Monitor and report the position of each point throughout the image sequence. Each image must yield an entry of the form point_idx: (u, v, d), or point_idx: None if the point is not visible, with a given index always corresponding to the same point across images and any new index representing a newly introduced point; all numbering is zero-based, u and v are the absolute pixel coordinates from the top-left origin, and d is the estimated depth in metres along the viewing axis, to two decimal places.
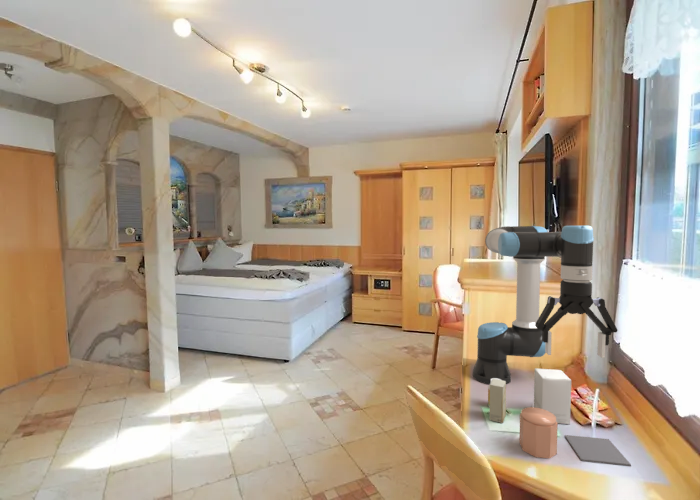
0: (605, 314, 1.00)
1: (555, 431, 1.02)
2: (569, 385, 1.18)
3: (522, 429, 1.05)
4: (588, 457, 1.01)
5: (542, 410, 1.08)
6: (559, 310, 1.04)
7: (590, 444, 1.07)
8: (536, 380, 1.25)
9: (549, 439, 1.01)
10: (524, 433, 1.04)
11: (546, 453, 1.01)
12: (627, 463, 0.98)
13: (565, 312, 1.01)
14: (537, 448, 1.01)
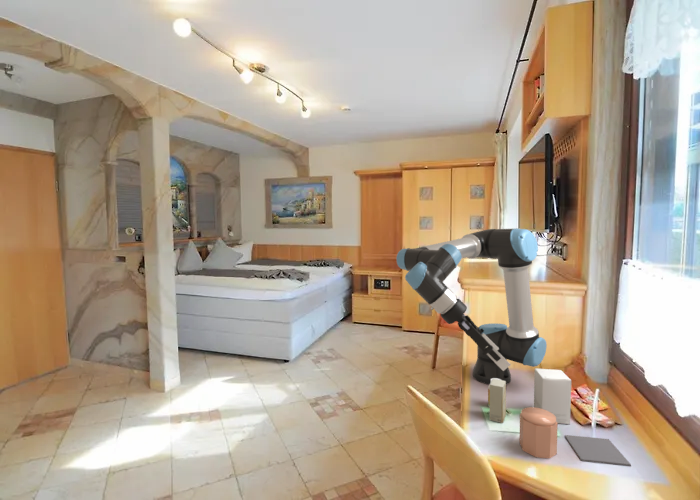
0: None
1: (555, 431, 1.02)
2: (569, 385, 1.18)
3: (522, 429, 1.05)
4: (588, 457, 1.01)
5: (542, 410, 1.08)
6: None
7: (590, 444, 1.07)
8: (536, 380, 1.25)
9: (549, 439, 1.01)
10: (524, 433, 1.04)
11: (546, 453, 1.01)
12: (627, 463, 0.98)
13: None
14: (537, 448, 1.01)
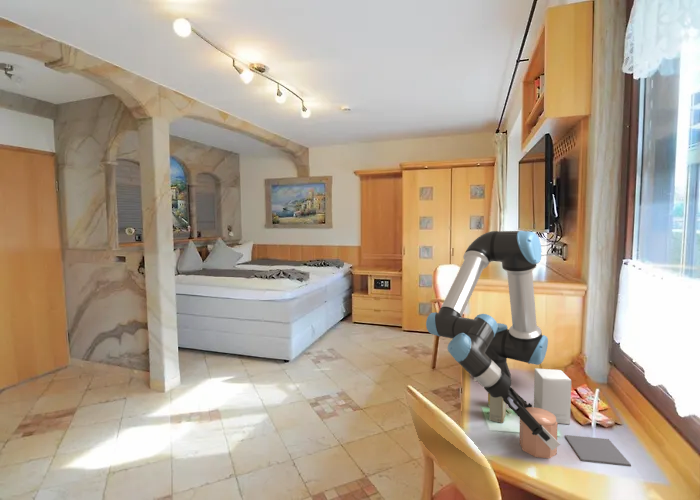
0: None
1: (555, 431, 1.02)
2: (569, 385, 1.18)
3: (522, 429, 1.05)
4: (588, 457, 1.01)
5: (542, 410, 1.08)
6: None
7: (590, 444, 1.07)
8: (536, 380, 1.25)
9: None
10: (524, 433, 1.04)
11: (546, 453, 1.01)
12: (627, 463, 0.98)
13: None
14: (537, 448, 1.01)
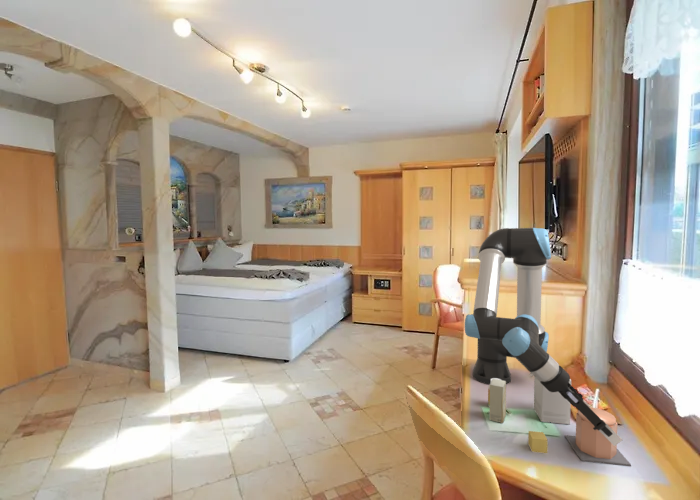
0: (580, 411, 0.98)
1: (615, 431, 1.01)
2: None
3: (580, 429, 1.04)
4: (588, 457, 1.01)
5: (599, 410, 1.07)
6: None
7: None
8: (536, 380, 1.25)
9: None
10: (583, 433, 1.03)
11: (607, 453, 1.00)
12: (627, 463, 0.98)
13: None
14: (598, 449, 1.00)
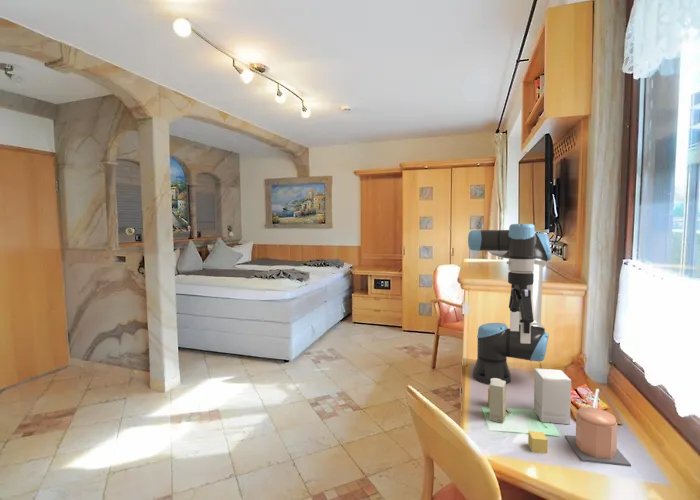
0: (522, 304, 1.11)
1: (615, 431, 1.01)
2: (569, 385, 1.18)
3: (580, 429, 1.04)
4: (588, 457, 1.01)
5: (599, 410, 1.07)
6: None
7: None
8: (536, 380, 1.25)
9: (610, 439, 1.00)
10: (583, 433, 1.03)
11: (607, 453, 1.00)
12: (627, 463, 0.98)
13: (512, 296, 1.21)
14: (598, 449, 1.00)
